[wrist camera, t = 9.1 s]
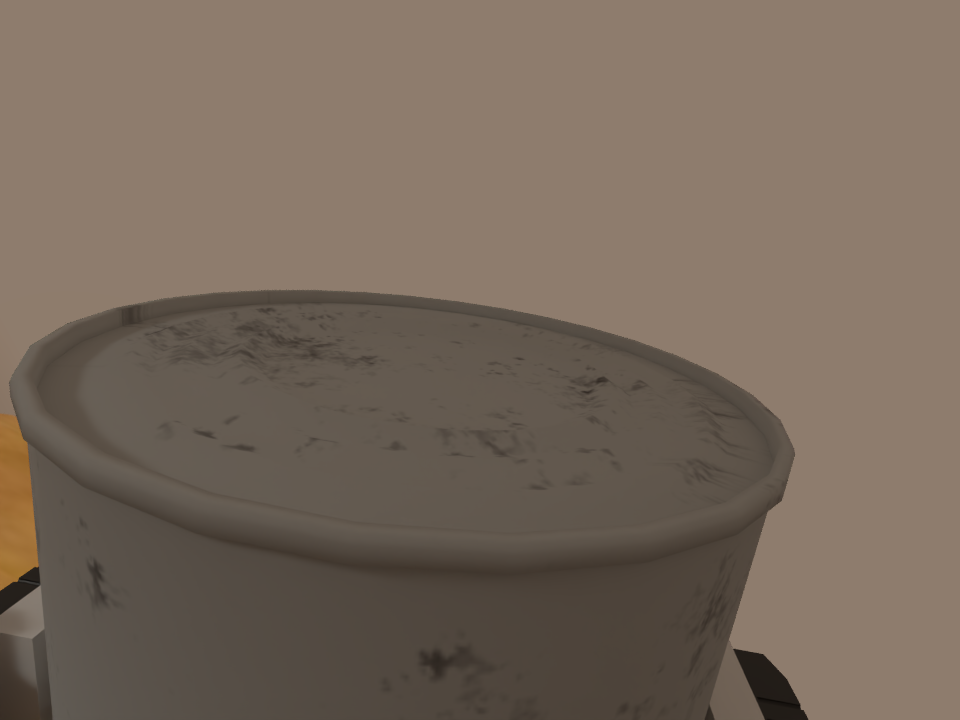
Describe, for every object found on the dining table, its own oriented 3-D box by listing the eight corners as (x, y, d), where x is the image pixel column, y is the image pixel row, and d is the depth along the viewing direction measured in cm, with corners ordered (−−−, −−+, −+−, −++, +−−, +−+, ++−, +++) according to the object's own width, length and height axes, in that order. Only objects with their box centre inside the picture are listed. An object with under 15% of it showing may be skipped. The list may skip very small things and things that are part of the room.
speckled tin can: (392, 662, 18) (433, 285, 15) (679, 921, 12) (851, 396, 9) (12, 929, 11) (-72, 297, 7) (281, 1895, 5) (436, 940, 2)
